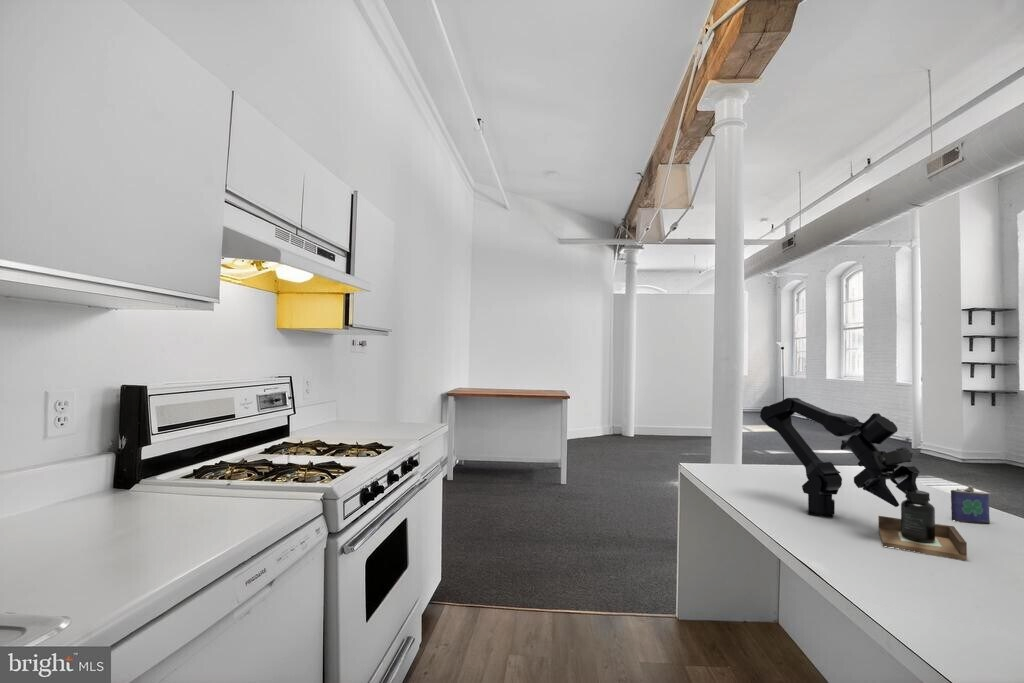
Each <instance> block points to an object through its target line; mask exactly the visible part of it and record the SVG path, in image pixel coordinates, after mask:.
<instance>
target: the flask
mask: <svg viewBox="0 0 1024 683" xmlns="http://www.w3.org/2000/svg"><path fill="white" fill-rule="evenodd" d="M975 488H976V487H975V486H973V485H967V488H960V489H959V488H956V489H951V490H950V494H951V495H950V503H951V504H950V505H951V506H950V510H951V521H953V520H955V521H954V522H957V521H960V522H959V523H964V524H965V523H966V524H967V523H968V524H977V525H978V524H979V525H983V524H984V525H989V524H990V522H991V521H990V520H991V518H990V494H989V493H988V492H984V491H975Z"/></svg>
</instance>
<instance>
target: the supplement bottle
mask: <svg viewBox="0 0 1024 683" xmlns="http://www.w3.org/2000/svg"><path fill="white" fill-rule="evenodd" d="M904 495H905V498H906V499H904V500H903V501H902V502H901V503H900V519H901V535H902V536H903V537H904V538H905V539H908V540H911V541H914V542H920V543H933V542H935V524H936V509H935V506H934V505H933V504H932V503H930V500H931V498H930V493H929V492H928V491H925V490H924V491H923V490H919V489H918V490H906V494H904Z"/></svg>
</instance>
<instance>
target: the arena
mask: <svg viewBox="0 0 1024 683" xmlns="http://www.w3.org/2000/svg"><path fill="white" fill-rule="evenodd" d="M878 533H880V534H879V537H881V538H880V540H882V541H881V544H883V545H882V547H883V546H887V547H894V548H899V549H905V550H910V551H915V552H914V553H916V552H920V553H919V554H922V553H925V554H924V555H928V554H931V555H930V556H934V555H937V556H936V557H940V556H943V557H942V558H946V557H948V558H947V559H952V558H954V560H958V559H961V561H964V560H967V561H968V549H967V548H968V547H967V545H968V544H967V542H966V540H965V539H964V538H963V536H962V535H961V533H960V532H959V531H958V530H957V528H956V527H955V526H953V525H947V524H939V523H935V542H933V543H920V542H914V541H911V540H908V539H905V538H904V537H903V536H902V535H901V518H897V517H889V516H884V515H882V516H881V515H878ZM887 547H886V548H887ZM910 551H909V552H910Z"/></svg>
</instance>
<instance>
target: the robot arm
mask: <svg viewBox="0 0 1024 683" xmlns="http://www.w3.org/2000/svg"><path fill="white" fill-rule="evenodd" d="M795 414H798V415H799V416H802V417H805V418H807V419H809V420H811V421H813V422H816V423H818V424H820V425H821V426H822V427H823V428H824V429H825V430H826V431H827V432H829V433H831V434H832V435H833V436H836V437H848V439H842V440H841V444H840V450H841V451H845V450H850V451H851V452H852V453H853V455H854V457H855V458H857V460H858V462H857V465H858V466H859V467H864V469H862V471H860V472H859V473H858V474H856V475H855V476H854V477H853V483H854V484H855V486H856V487H857V488H858V489H862V490H863V491H866V492H868V493H870V494H872V495H874V496H876V497H878V498H879V499H881V500H883V501H885V502H886V503H888V504H890V505H891V506H893V507H895V508H897V507H899V506H900V503H899V501H898V500H897V498H896V497H895V495H894V494H893V493H892V491H891V489H890V488H889V487H888V485H887V481H886V480H890V481H891V482H892V483H893V484H894V485H895V487H896V488H897V489H898V490H899V491H900V492H902V493H903V494H904V495H906V490H919V488H918V486H917V482H916V481H917V478H918V477H919V474H920V472H921V471H920V470H919V469H918V468H917V467H916V466H915V465H911V464H908V465H901V466H900V465H899V464H903V463H911V462H913V460H912V459H913V455H914V453H913V452H911V451H910V450H909V449H908V448H907V447H900V448H896V449H895V450H892V451H888V452H886V451H885V450H879V449H878V447H877V446H876V445H882V444H883V443H885V442H886V441H887V440H889V439H890V438H891V437H892V436H894V435H895V434H897V432H898V426H897V425H896V424H895V423H894V421H891V420H890V419H889V418H886V417H885V416H882V415H881V414H880V413H877V412H876V413H873V414H871V415H870V416H869V418H868V419H867V420H865V421H864V422H862V421H859V419H858V418H857V417H855V416H852V415H846V414H841V413H837V412H836V413H835V412H831V411H829V410H826V409H823V408H821V407H820V406H819V407H818V406H816V405H814V404H811V403H809V402H807V401H804V400H802V399H800V398H799V397H786V398H784V399H783V400H781V401H778V402H775V403H773V404H772V403H771V404H770V405H765V406H763V407H762V408H761V409H760V415H759V417H760V419H761V421H762V422H763V423H764V424H765V425H766V426H767V427H768V428H771V430H772V429H773V430H774V431H775V432H777V433H778V434H779V435H780V436H781V438H782V439H783V440H784V442H785V443H786V444H787V446H788V447H789V448H790V450H791V451H792V453H794V454H795V457H797V459H798V460H799V461H800V463H801V464H802V465H803V467H804V468H805V473H806V474H805V476H806V479H807V481H805V483H804V484H803V485H801V488H802V491H803V493H804V494H805V495H807V500H808V501H807V505H808V506H807V508H808V509H807V515H811V516H817V517H824V518H831V519H833V518H834V516H835V514H836V513H835V512H836V511H835V504H836V503H835V499H833V495H837V494H838V492H839V489H840V488H841V487H842V485H843V478H842V476H841V475H840V474H841V472H840V471H839V470H838V469H837V468H836V466H835V465H834V464H833V463H832V462H831V461H826V462H824V461H822V460H821V459H820V458H819V457H818V456H817V454H816V452H814V450H812V448H811V447H810V446H809V444H808V443H807V442H806V441H805V439H804V438H803V437H802V436H801V434H800V433H799V432H798V430H797V429H796V428H795V427H794V426H793V423H792V416H793V415H795ZM875 444H876V445H875Z"/></svg>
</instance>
